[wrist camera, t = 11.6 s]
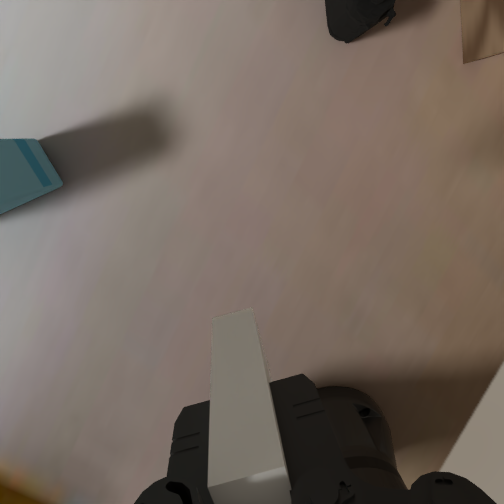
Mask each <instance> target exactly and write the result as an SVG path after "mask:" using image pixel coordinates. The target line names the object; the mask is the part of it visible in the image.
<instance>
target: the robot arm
mask: <svg viewBox="0 0 504 504" xmlns="http://www.w3.org/2000/svg"><path fill="white" fill-rule="evenodd" d="M172 440H173V443H172V445H171V451H170V455H171V457H170V458H169V465H168V471H167V477H165V478H163V479H160V480H158V481H156V482H154V483H153V484H152V485H151V486H149V487H148V488H147V489H146V490H144V491H143V492H142V494H141V495H140V496H139V498H138V499H137V500H136V502H135V503H134V504H496V503H495V502H494V501H493V500H492V499H491V498H490V497H489V496H488V495H487V494H486V493H485V492H483V491H482V490H481V489H480V488H479V487H477V486H476V485H475V484H473V483H472V482H470V481H469V480H468V479H466V478H464V477H461V476H458V475H455V474H453V473H450V472H431V473H428V474H425V475H422V476H420V477H419V478H418V479H417V480H416V481H415V482H414V483H413V484H412V486H411V489H410V490H408V489H407V487H406V485H405V484H404V482H403V480H402V478H401V476H400V474H399V472H398V470H397V466H396V460H395V455H394V449H393V444H392V438H391V433H390V429H389V426H388V423H387V421H386V419H385V417H384V415H383V414H382V412H381V410H380V409H379V407H378V406H377V404H376V403H375V402H374V401H373V400H372V399H371V398H370V397H369V396H367V395H366V394H364V393H362V392H360V391H357V390H354V389H351V388H346V387H327V388H321V389H316V387H315V384H314V383H313V382H312V381H311V380H309V379H308V378H307V377H306V376H305V375H304V374H299V375H296V376H292V377H288V378H285V379H281V380H277V381H274V382H272V379H271V374H270V370H269V366H268V362H267V359H266V355H265V351H264V348H263V344H262V341H261V337H260V334H259V330H258V327H257V323H256V319H255V316H254V312H253V309H252V307H251V308H247V309H244V310H240V311H236V312H233V313H229V314H225V315H222V316H218V317H214V318H212V347H211V383H210V400H209V401H205V402H201V403H198V404H194V405H190V406H187V407H184V408H183V410H182V411H181V413H180V415H179V416H178V418H177V420H176V422H175V424H174V431H173V438H172Z"/></svg>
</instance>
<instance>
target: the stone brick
mask: <svg viewBox="0 0 504 504" xmlns="http://www.w3.org/2000/svg"><path fill="white" fill-rule="evenodd" d="M460 2H461V24H462V45H463V64H465V63H469V62H472V61H476V60H480V59H484V58H487V57H491V56H494V55H497V54H501V53H504V0H460Z"/></svg>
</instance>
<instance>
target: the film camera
mask: <svg viewBox="0 0 504 504" xmlns="http://www.w3.org/2000/svg"><path fill="white" fill-rule="evenodd" d="M394 3H395V0H325V6H326V16H327V25H328V29H329V33H330V35H331V36H332V37H333V38H335V39H336V40H338V41H344V42H345V43H349V42H351V41H352V40H354V39H355V38H356V37H359V36H360V35H362V34H363V33H365V32H366V31H367V30H369V29H370V28H372V27H373V26H374V25H376V24H377V23H378V22H380V21H381V20H383V19H384V18H386V17H387V16H389V18H388V20H387V22H386V23H385V24H384V25H385V26H387V25H389V23H390V22H391V20H392V18H393V17H395V16H396V13H395V11H394V9H393V7H394Z"/></svg>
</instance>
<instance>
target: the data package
mask: <svg viewBox="0 0 504 504" xmlns="http://www.w3.org/2000/svg"><path fill="white" fill-rule="evenodd" d="M62 185H63V182H62V180H61V179H60V177H59V175H58V174H57V172H56V170H55V169H54V167H53V165H52V164H51V162H50V161H49V159H48V157H47V156H46V154H45V152H44V151H43V149H42V147H41V146H40V144H39V142H38V141H37V140H36V139H0V214H2V213H4V212H7V211H9V210H11V209H13V208H15V207H18V206H20V205H22V204H24V203H26V202H29V201H31V200H33V199H35V198H37V197H40V196H42V195H44V194H46V193H48V192H51V191H53V190H55V189H57V188H59V187H61V186H62Z"/></svg>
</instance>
